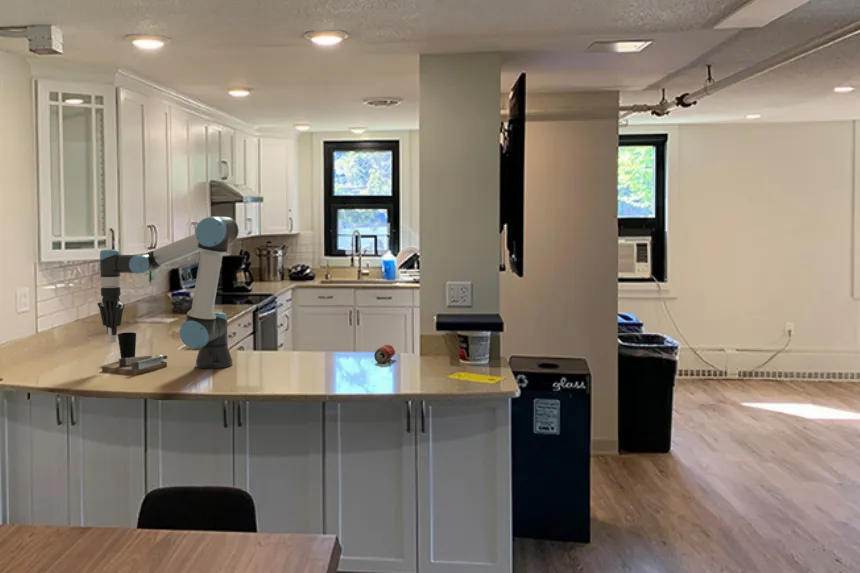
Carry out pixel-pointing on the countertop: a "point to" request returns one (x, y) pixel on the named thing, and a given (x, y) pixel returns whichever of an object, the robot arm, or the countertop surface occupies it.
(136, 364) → the tongs fixed
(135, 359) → the tong arm
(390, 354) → the beverage can
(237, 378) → the countertop surface
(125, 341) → the cup
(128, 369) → the board
